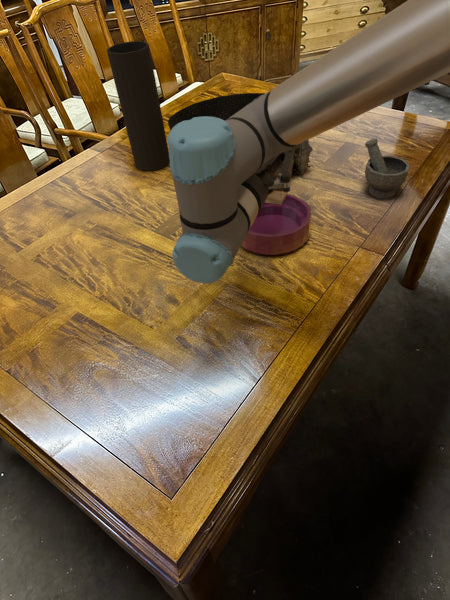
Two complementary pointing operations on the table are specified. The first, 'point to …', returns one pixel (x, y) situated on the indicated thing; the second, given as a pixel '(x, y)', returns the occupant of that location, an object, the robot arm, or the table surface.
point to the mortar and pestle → (384, 171)
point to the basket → (227, 108)
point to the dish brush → (276, 192)
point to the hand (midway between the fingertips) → (278, 136)
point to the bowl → (279, 227)
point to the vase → (139, 103)
